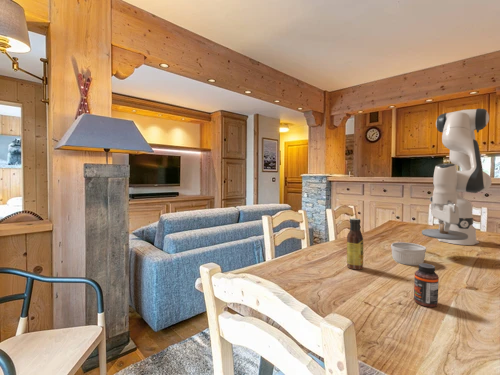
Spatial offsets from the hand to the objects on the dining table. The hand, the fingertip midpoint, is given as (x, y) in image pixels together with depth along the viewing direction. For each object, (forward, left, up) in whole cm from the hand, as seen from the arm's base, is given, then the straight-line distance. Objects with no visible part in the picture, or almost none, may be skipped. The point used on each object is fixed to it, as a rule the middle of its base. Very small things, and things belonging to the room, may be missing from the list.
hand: (444, 230), depth 123 cm
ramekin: (+10, -17, -13) cm, 24 cm away
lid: (0, 0, -2) cm, 2 cm away
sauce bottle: (+24, -40, -13) cm, 49 cm away
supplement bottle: (+52, -24, -13) cm, 58 cm away
